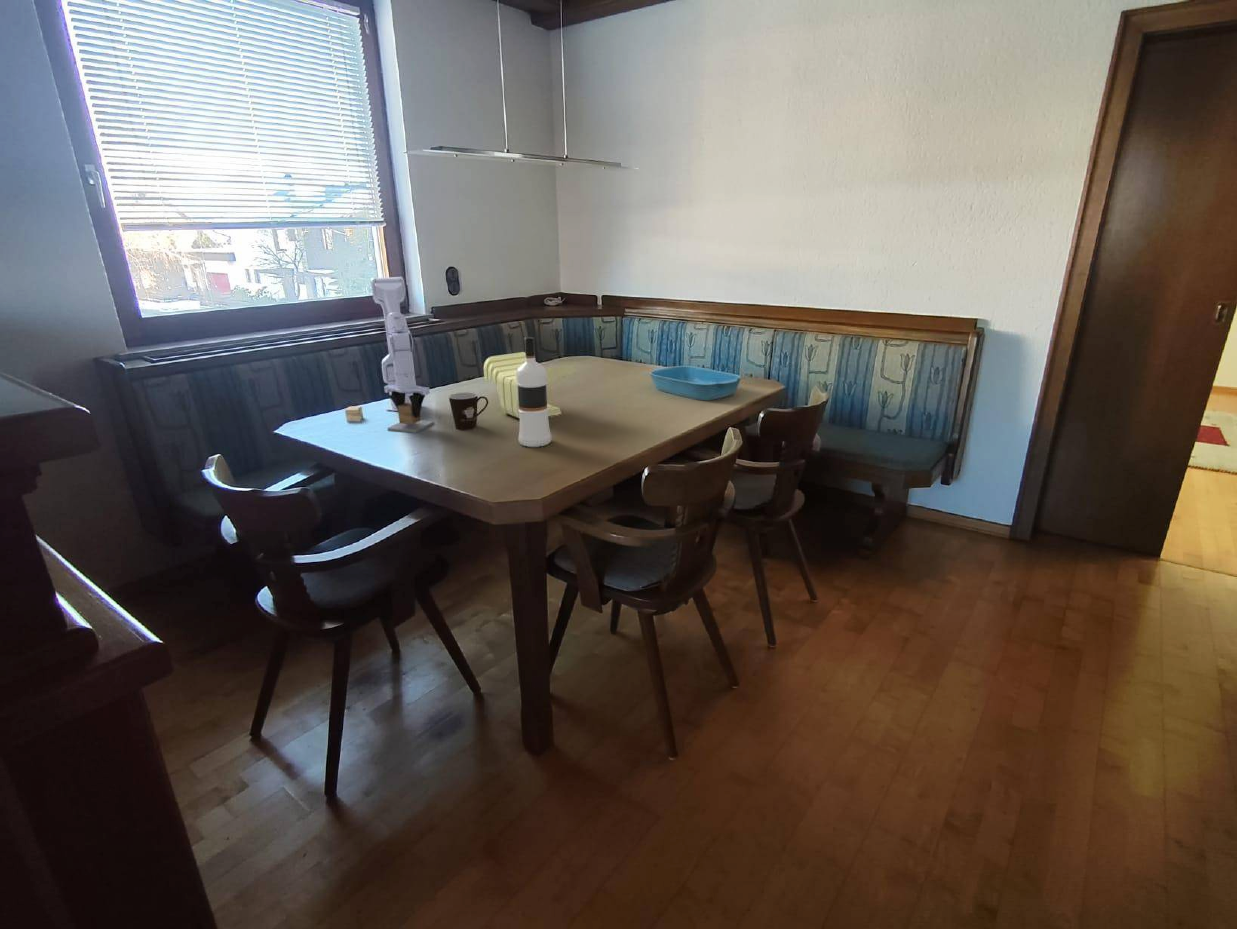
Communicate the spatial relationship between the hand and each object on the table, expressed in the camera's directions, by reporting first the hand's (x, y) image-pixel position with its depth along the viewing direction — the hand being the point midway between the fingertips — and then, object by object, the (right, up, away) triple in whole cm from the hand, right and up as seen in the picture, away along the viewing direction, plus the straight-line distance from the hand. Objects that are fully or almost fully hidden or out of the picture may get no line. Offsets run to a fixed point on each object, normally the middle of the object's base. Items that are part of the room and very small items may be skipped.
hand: (410, 416), depth 201 cm
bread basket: (+35, +1, +14) cm, 38 cm away
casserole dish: (+93, +12, +41) cm, 102 cm away
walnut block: (0, -2, 0) cm, 2 cm away
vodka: (+41, -9, -15) cm, 44 cm away
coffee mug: (+19, -3, +1) cm, 19 cm away
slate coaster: (0, -3, +1) cm, 3 cm away
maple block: (-21, 0, +10) cm, 23 cm away
